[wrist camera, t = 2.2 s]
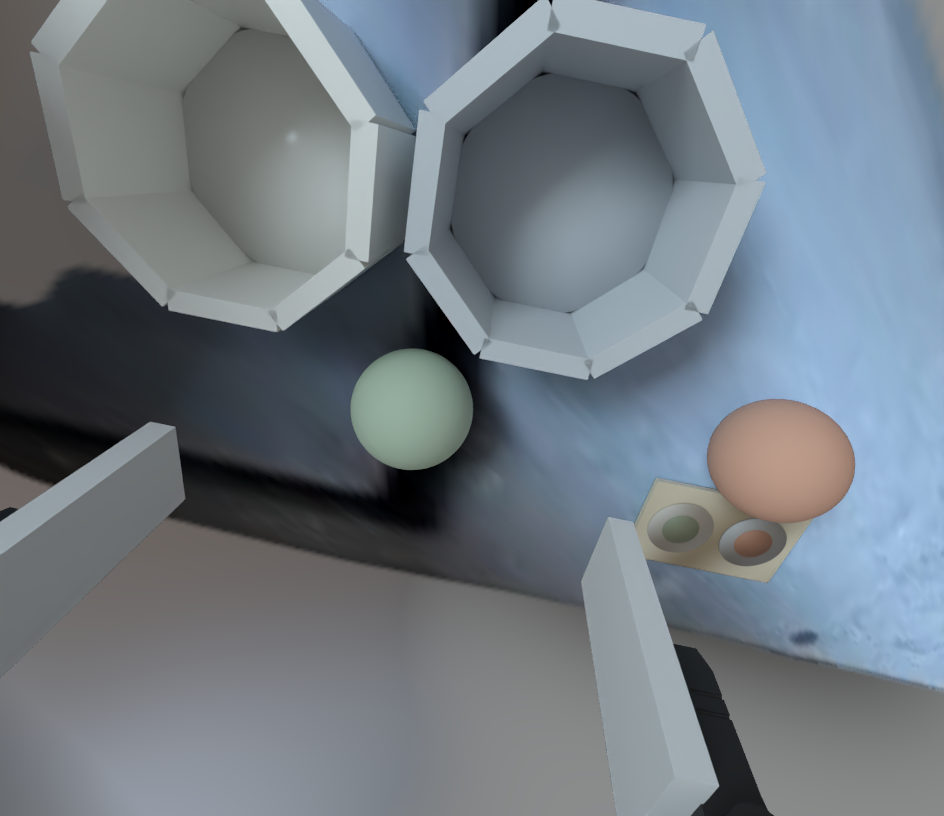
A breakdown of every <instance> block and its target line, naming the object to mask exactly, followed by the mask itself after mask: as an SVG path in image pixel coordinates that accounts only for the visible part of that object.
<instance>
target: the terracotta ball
mask: <svg viewBox="0 0 944 816" xmlns="http://www.w3.org/2000/svg"><path fill="white" fill-rule="evenodd" d="M707 463H708V468H709V472H710V476H711V478H712V480H713V482H714V484H715V486H716V488H717V489H718V491H719V492H720V493H721V494H722V496H723V497H724V498H725V499H726V500H727V501H728V502H729V503H731V504H732V505H733V506H734V507H736V508H737V509H739V510H741V511H742V512H744V513H746V514H748V515H750V516H753V517H755V518H758V519H761V520H765V521H770V522H776V523H795V522H802V521H806V520H810V519H813V518H815V517H818V516H820V515H822V514H824V513H826V512H827V511H829V510H831V509H832V508H833V507H834V506H836V505H837V504H838V503H839V502H840V501H841V500H842V499H843V498H844V496H845V495H846V493H847V492H848V490H849V488H850V486H851V484H852V481H853V478H854V472H855V458H854V452H853V449H852V446H851V443H850V441H849V439H848V437H847V436H846V434H845V433H844V431H843V430H842V429H841V427H840V426H839V425H838V424H837V423H836V422H835V421H834V420H833V419H831V418H830V417H829V416H828V415H826V414H825V413H823V412H821V411H820V410H818V409H816V408H814V407H812V406H809V405H807V404H804V403H801V402H797V401H792V400H785V399H768V400H761V401H756V402H753V403H750V404H747V405H744V406H742V407H740V408H738V409H736V410H735V411H733V412H732V413H730V414H729V415H728V416H726V417H725V418H724V419H723V420H722V421H721V422H720V424H719V425H718V426H717V428H716V429H715V431H714V432H713V434H712V436H711V439H710V442H709V446H708V451H707Z"/></svg>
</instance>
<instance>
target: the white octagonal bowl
mask: <svg viewBox="0 0 944 816" xmlns="http://www.w3.org/2000/svg"><path fill="white" fill-rule="evenodd" d="M31 43H32V44H33V46H34V47H35V48H36V49H37V50H38V51H39V53H36V52H30V56H31V60H32V65H33V69H34V74H35V79H36V83H37V87H38V92H39V97H40V101H41V105H42V110H43V115H44V119H45V124H46V128H47V132H48V137H49V142H50V146H51V151H52V155H53V160H54V164H55V169H56V174H57V177H58V183H59V187H60V192H61V196H62V200H66V201H71V203H70V204H69V205H68V207H67V208H68V209H69V211H70V212H71V213H73V215H75V216H76V218H77V219H78V220H79V221H80V222H81V223H82V224H83V225H84V226H85V227H86V228H87V229H88V230H89V231H90V232H91V233H92V234H93V235H94V236H95V237H96V239H97V240H99V242H101V244H102V245H103V246H104V247H105V248H106V249H107V250H108V251H109V252H110V253H111V254H112V255H113V256H114V257H115V258H116V259H117V260H118V261H119V262H120V263H121V264H122V265H123V266H124V268H125V269H126V270H127V271H128V272H129V273H130V274H131V275H132V276H133V277H134V278H135V279H136V280H137V281H138V282H139V283H140V284H141V285H142V286H143V287H144V288H145V289H146V290H147V291H148V292H149V293H150V294H151V296H152V297H153V298H154V299H155V300H156V301H157V302H158V303H159V304H160V305H161V306H162V307H163V306H165V305H168V309H169V311H174V312H179V313H184V314H189V315H194V316H199V317H204V318H209V319H214V320H219V321H224V322H229V323H234V324H238V325H243V326H248V327H253V328H258V329H263V330H268V331H273V332H278V331H280V330H281V329H282V330H283V331H284V330H285V329H287V328H288V327H290V326H291V325H292V324H294V323H295V322H297V321H298V320H299V319H301V318H302V317H304V316H305V315H307V314H308V313H309V312H311V311H312V310H314V309H315V308H316V307H318V306H319V305H321V304H322V303H323V302H325V301H326V300H328V299H329V298H330V297H332V296H333V295H335V294H336V293H337V292H339V291H340V290H342V289H343V288H344V287H346V286H347V285H348V284H349V283H351V282H352V281H353V280H355V279H356V278H357V277H359V276H360V275H361V274H363V273H364V272H365V271H367V270H368V269H369V268H370V267H372V266H373V265H374V264H376V263H377V262H378V261H380V260H381V259H382V258H384V257H385V256H386V255H388V254H389V253H390V252H392V251H393V250H394V249H395V248H397V247H398V246H399V245H401V244H402V243H403V242H404V241H403V239H405V236H406V227H407V217H408V208H409V199H410V190H411V180H412V171H413V162H414V153H415V143H416V136H413V135H411V134H412V133H414V132H415V131H416V129H415V128H414V126H413V124H412V123H411V121H410V120H409V118H408V117H407V115H406V113H405V112H404V110H403V109H402V107H401V106H400V104H399V102H398V101H397V99H396V98H395V96H394V94H393V93H392V91H391V90H390V88H389V87H388V85H387V83H386V82H385V80H384V79H383V77H382V76H381V74H380V72H379V71H378V69H377V68H376V66H375V65H374V63H373V61H372V60H371V58H370V57H369V55H368V53H367V52H366V50H365V49H364V47H363V46H362V44H361V42H360V41H359V39H358V38H357V36H356V35H355V33H354V31H353V30H352V29H351V28H350V27H348V26H347V25H346V24H345V23H344V22H343V21H341V20H340V19H339V18H338V17H337V16H336V15H334V14H333V13H332V12H331V11H330V10H329V9H327V8H326V7H325V6H324V5H323V4H322V3H320V2H319V1H318V0H60V2H59V3H58V4H57V6H56V7H55V8H54V10H53V11H52V13H51V14H50V15H49V17H48V18H47V20H46V21H45V23H44V24H43V26H42V27H41V29H40V30H39V31H38V33H37V34H36V35H35V37H34V38H33V40H32V41H31Z"/></svg>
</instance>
